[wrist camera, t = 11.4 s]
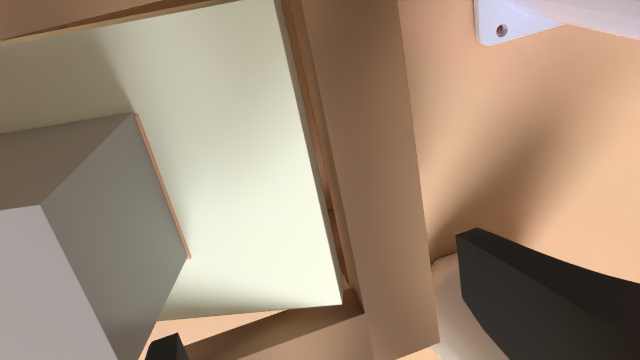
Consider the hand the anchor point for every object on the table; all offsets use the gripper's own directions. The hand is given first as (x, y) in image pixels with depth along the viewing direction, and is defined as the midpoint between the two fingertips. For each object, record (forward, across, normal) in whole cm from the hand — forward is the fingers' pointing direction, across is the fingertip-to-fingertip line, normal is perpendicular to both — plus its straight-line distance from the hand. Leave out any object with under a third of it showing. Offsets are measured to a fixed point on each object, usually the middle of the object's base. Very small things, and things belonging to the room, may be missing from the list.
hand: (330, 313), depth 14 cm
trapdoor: (+6, +3, -2) cm, 8 cm away
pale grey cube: (+6, +6, -2) cm, 9 cm away
